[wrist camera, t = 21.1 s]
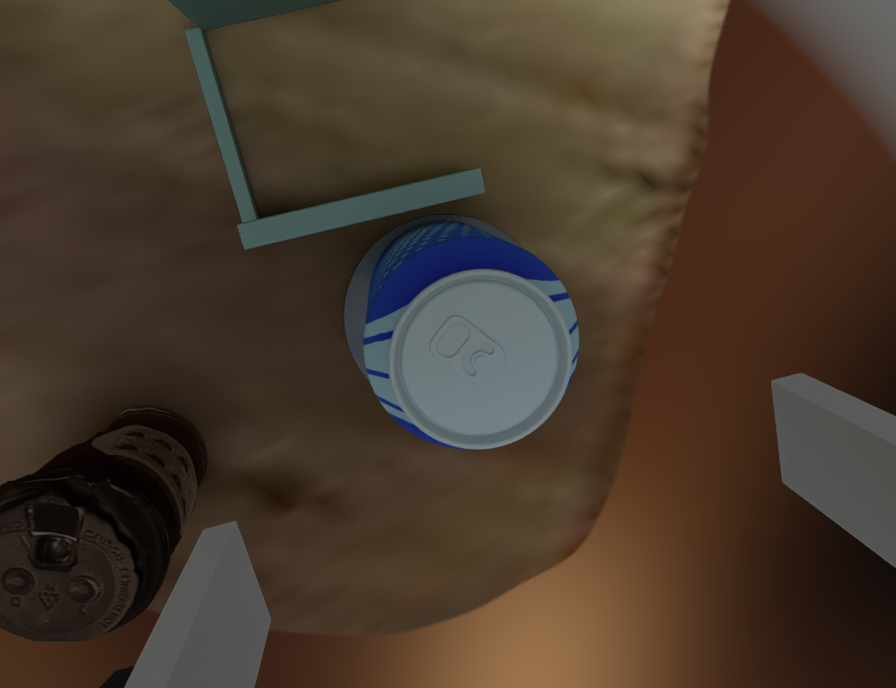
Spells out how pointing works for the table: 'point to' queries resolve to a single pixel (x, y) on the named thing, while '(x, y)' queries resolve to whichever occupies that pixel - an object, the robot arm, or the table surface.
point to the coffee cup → (97, 527)
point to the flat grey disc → (363, 272)
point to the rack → (211, 7)
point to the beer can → (467, 336)
